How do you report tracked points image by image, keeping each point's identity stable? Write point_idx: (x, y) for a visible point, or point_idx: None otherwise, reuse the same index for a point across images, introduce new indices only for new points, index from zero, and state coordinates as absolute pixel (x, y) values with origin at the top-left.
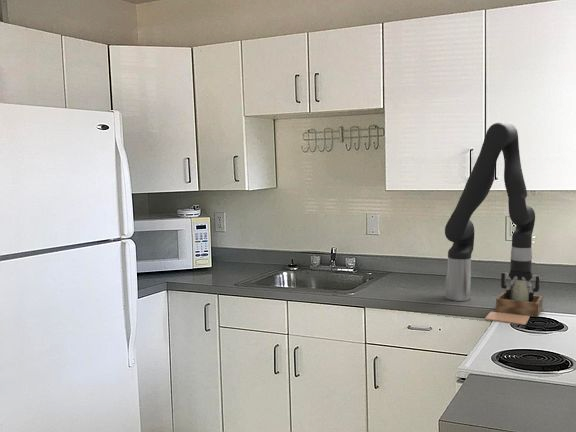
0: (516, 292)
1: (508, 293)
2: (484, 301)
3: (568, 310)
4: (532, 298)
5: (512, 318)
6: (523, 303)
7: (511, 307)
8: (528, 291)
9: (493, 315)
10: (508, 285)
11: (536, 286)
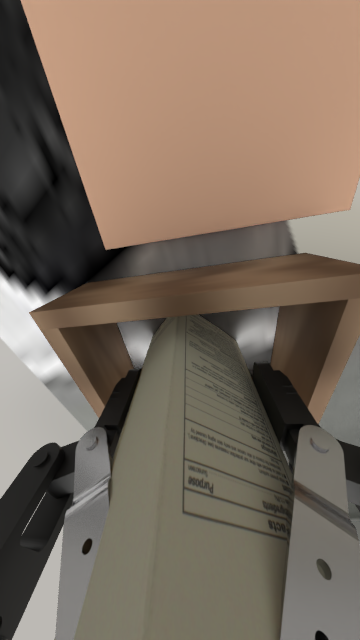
0: (215, 406)
1: (282, 397)
2: (354, 387)
3: (69, 403)
4: (116, 391)
5: (167, 93)
6: (134, 297)
7: (219, 274)
8: (121, 438)
9: (337, 73)
10: (341, 497)
11: (9, 514)
